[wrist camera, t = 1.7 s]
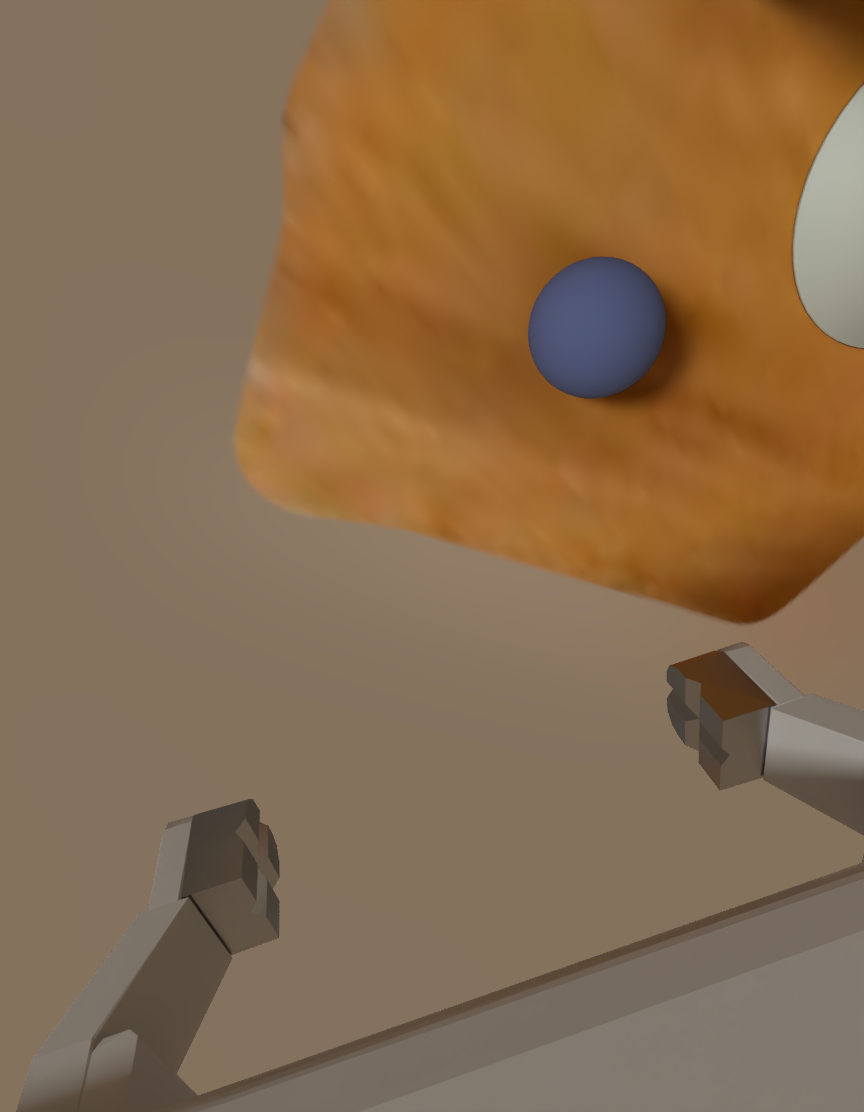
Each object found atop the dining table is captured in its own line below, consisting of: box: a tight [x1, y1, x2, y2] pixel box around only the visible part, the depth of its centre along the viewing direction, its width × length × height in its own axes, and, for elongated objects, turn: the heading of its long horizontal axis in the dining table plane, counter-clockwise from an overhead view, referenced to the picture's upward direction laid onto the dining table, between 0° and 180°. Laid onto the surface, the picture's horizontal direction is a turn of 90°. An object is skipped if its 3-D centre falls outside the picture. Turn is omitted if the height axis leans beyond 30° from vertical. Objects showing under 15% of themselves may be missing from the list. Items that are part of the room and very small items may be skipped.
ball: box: [528, 257, 666, 398], centre depth 26 cm, size 6×6×6 cm
